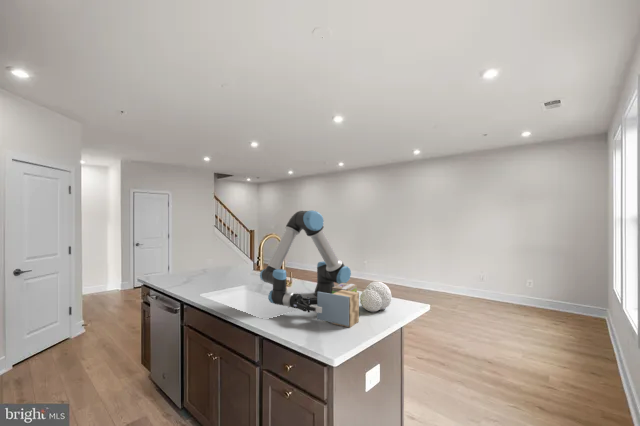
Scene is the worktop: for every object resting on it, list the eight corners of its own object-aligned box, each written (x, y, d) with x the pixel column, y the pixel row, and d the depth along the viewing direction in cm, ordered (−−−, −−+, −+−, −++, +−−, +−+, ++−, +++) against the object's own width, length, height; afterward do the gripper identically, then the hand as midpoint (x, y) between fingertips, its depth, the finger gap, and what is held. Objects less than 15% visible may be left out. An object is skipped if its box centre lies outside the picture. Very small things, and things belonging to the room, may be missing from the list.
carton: (341, 317, 161) (341, 289, 161) (358, 321, 156) (358, 292, 156) (332, 323, 152) (332, 293, 153) (350, 327, 147) (350, 296, 147)
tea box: (347, 316, 163) (347, 289, 163) (330, 313, 168) (331, 287, 168) (357, 309, 177) (357, 283, 177) (341, 306, 181) (341, 281, 181)
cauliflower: (372, 288, 192) (376, 271, 181) (395, 305, 183) (401, 288, 172) (352, 307, 180) (355, 290, 170) (376, 326, 171) (381, 310, 161)
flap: (318, 318, 157) (318, 291, 157) (349, 325, 147) (349, 296, 147) (317, 319, 156) (317, 291, 156) (348, 326, 146) (348, 297, 147)
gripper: (305, 302, 175) (338, 308, 163) (279, 313, 155) (315, 321, 143) (305, 289, 175) (338, 294, 163) (279, 298, 155) (315, 305, 143)
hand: (327, 307), depth 153 cm, fingers open, 11 cm apart
